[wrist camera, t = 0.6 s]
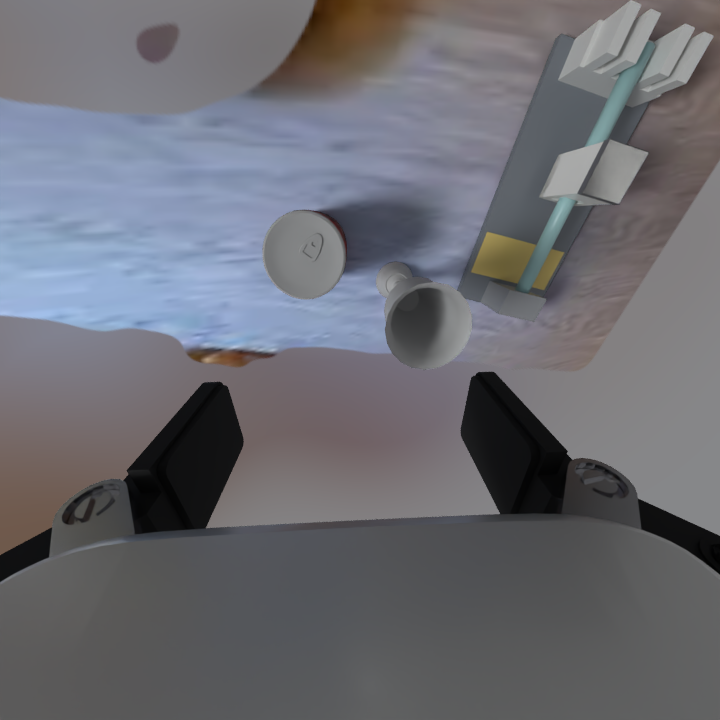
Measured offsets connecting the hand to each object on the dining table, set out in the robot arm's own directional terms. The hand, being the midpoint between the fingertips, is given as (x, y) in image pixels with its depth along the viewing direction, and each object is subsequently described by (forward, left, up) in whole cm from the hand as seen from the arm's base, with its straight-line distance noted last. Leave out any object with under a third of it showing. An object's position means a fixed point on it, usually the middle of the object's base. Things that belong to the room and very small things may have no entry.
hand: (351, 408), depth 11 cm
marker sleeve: (-15, +21, -27) cm, 37 cm away
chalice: (0, +6, -29) cm, 30 cm away
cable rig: (-13, +21, -29) cm, 38 cm away
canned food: (-2, -5, -29) cm, 30 cm away
